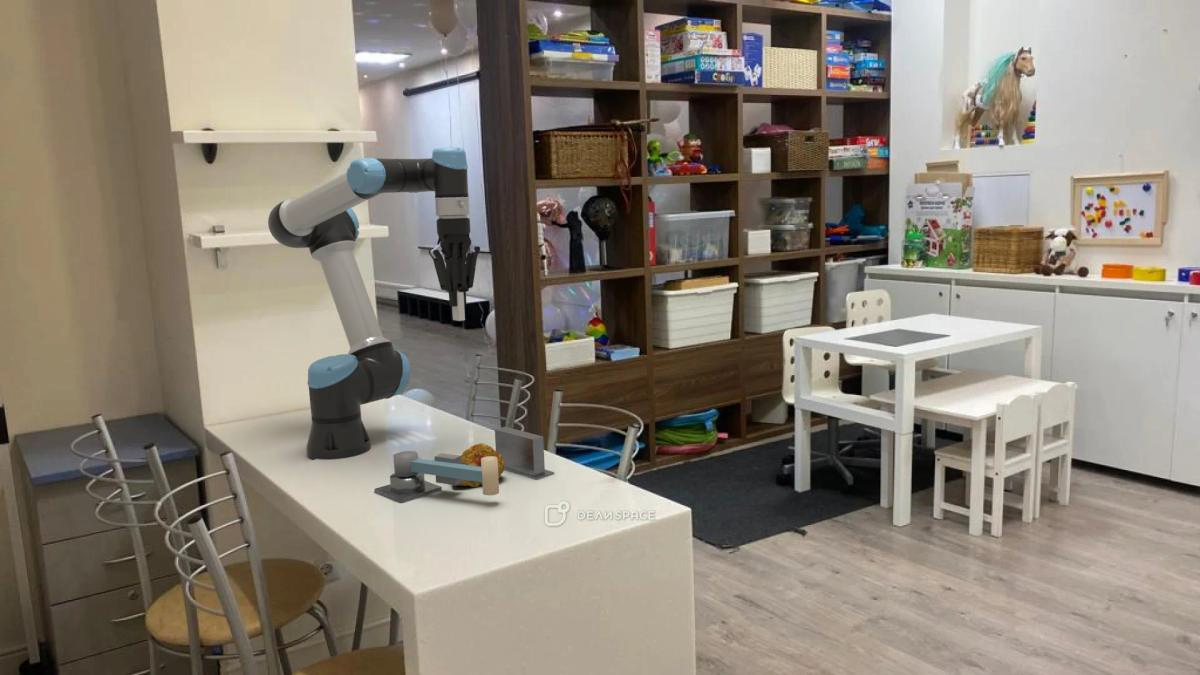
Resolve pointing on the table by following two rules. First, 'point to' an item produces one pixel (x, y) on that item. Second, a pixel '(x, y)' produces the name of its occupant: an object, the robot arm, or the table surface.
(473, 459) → the golden brown lumpy piece
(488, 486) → the lever
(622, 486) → the table surface
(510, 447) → the frame
